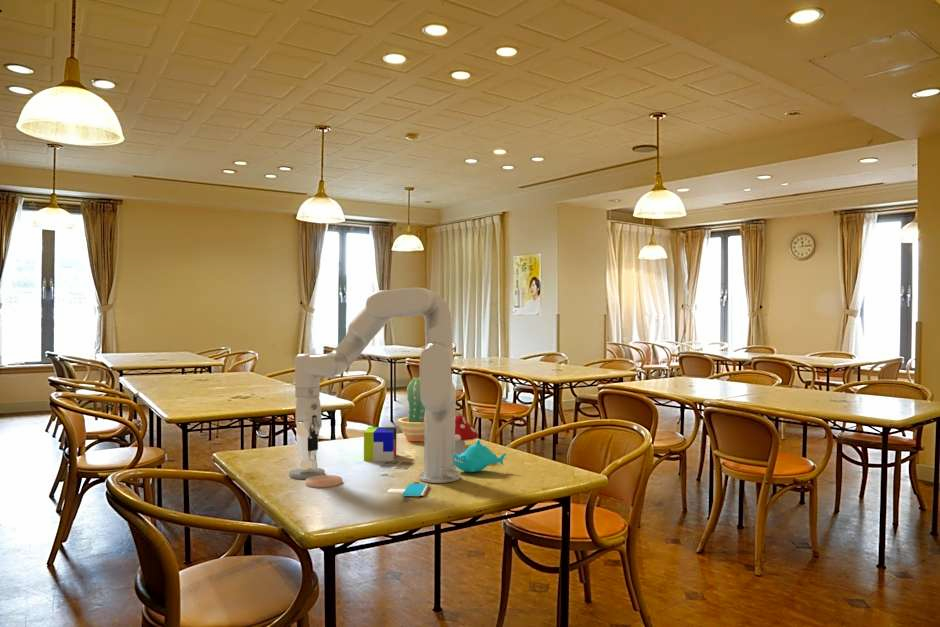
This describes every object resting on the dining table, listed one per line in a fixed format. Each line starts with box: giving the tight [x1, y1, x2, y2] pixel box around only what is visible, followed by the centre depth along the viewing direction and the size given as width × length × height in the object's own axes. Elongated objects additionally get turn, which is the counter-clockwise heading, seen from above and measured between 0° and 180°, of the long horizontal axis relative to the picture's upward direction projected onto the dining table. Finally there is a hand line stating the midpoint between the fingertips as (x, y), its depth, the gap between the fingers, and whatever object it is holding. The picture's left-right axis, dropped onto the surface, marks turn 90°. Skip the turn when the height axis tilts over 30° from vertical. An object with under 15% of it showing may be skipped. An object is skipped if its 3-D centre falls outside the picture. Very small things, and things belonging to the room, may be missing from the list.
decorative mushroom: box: [455, 414, 480, 455], centre depth 237 cm, size 14×14×15 cm
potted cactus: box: [397, 376, 425, 442], centre depth 267 cm, size 15×15×25 cm
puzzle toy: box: [363, 426, 397, 462], centre depth 235 cm, size 10×10×10 cm
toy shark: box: [455, 438, 507, 473], centre depth 215 cm, size 10×18×11 cm, turn 91°
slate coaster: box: [288, 467, 326, 480], centre depth 210 cm, size 11×11×1 cm
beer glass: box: [295, 421, 320, 470], centre depth 210 cm, size 7×7×15 cm
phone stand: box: [386, 481, 431, 502], centre depth 192 cm, size 20×12×2 cm, turn 175°
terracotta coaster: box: [304, 474, 343, 489], centre depth 201 cm, size 11×11×1 cm
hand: (307, 448), depth 210 cm, fingers closed on beer glass, 7 cm apart
